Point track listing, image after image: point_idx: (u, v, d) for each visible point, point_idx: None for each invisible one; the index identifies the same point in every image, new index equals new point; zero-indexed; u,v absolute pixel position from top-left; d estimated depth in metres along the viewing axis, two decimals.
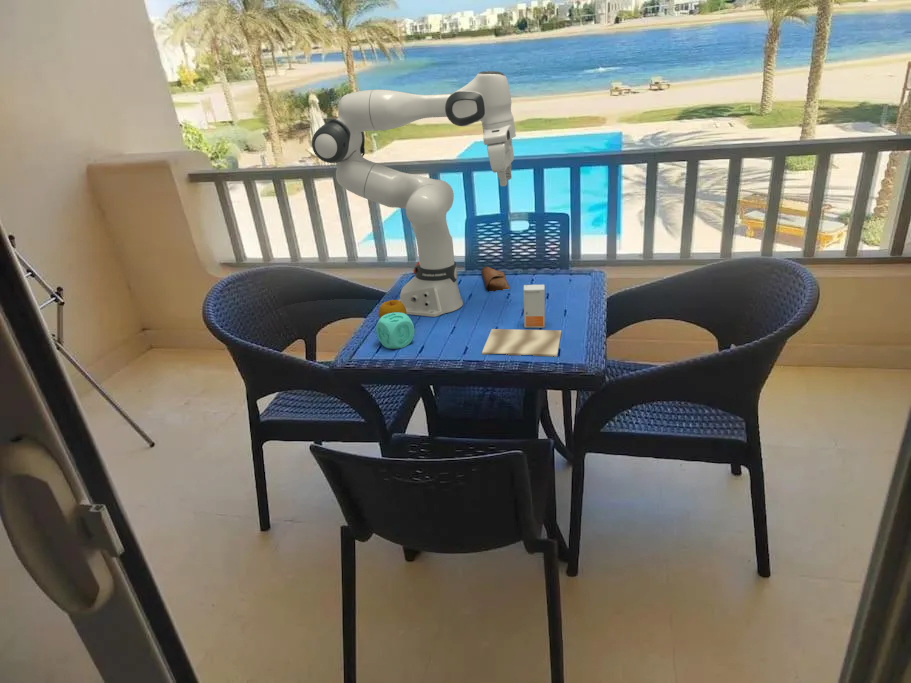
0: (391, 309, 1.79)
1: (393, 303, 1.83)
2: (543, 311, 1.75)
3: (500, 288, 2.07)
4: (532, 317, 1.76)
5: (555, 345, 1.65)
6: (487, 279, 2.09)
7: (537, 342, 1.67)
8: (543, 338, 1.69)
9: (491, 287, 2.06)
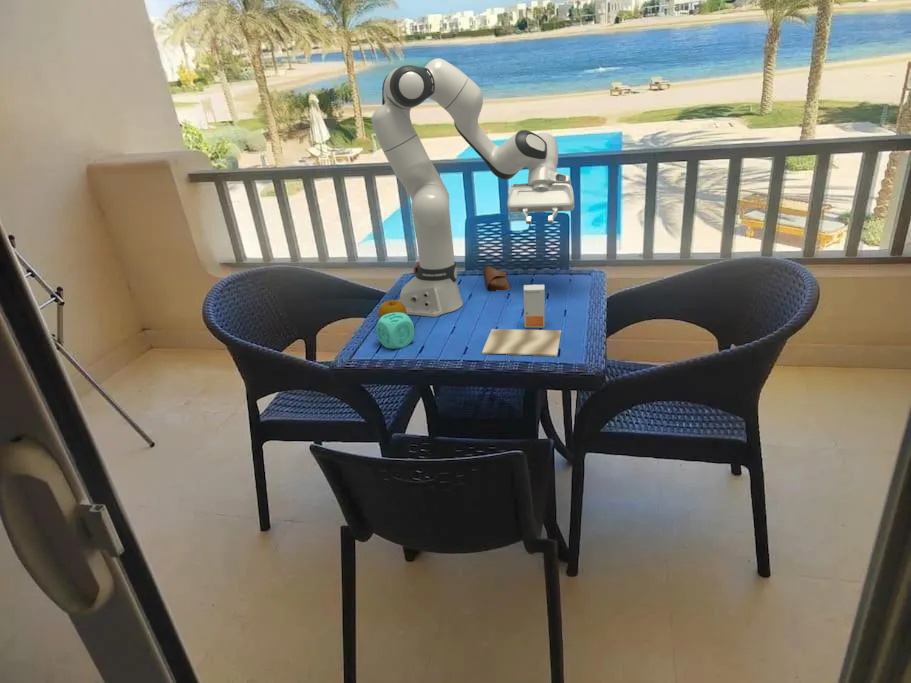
0: (391, 309, 1.79)
1: (393, 303, 1.83)
2: (543, 311, 1.75)
3: (501, 288, 2.07)
4: (532, 317, 1.76)
5: (555, 345, 1.65)
6: (488, 279, 2.09)
7: (537, 342, 1.67)
8: (543, 338, 1.69)
9: (492, 287, 2.06)
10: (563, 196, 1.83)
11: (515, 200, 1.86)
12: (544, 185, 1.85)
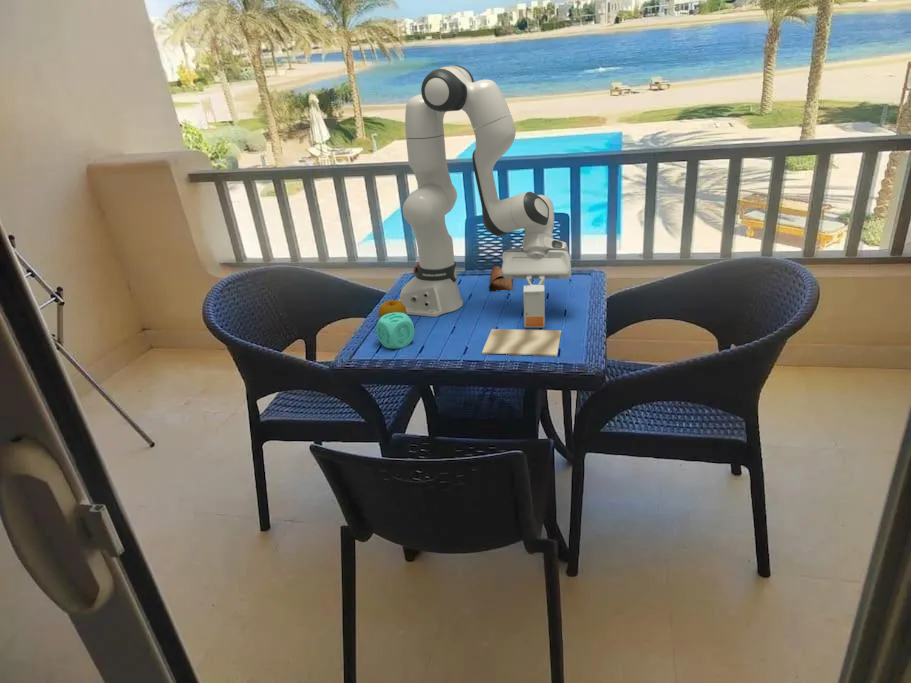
0: (391, 309, 1.79)
1: (393, 303, 1.83)
2: (543, 312, 1.74)
3: (503, 288, 2.06)
4: (532, 318, 1.75)
5: (555, 345, 1.65)
6: (492, 279, 2.09)
7: (537, 342, 1.67)
8: (543, 338, 1.69)
9: (494, 287, 2.06)
10: (560, 264, 1.75)
11: (509, 266, 1.79)
12: (540, 252, 1.77)
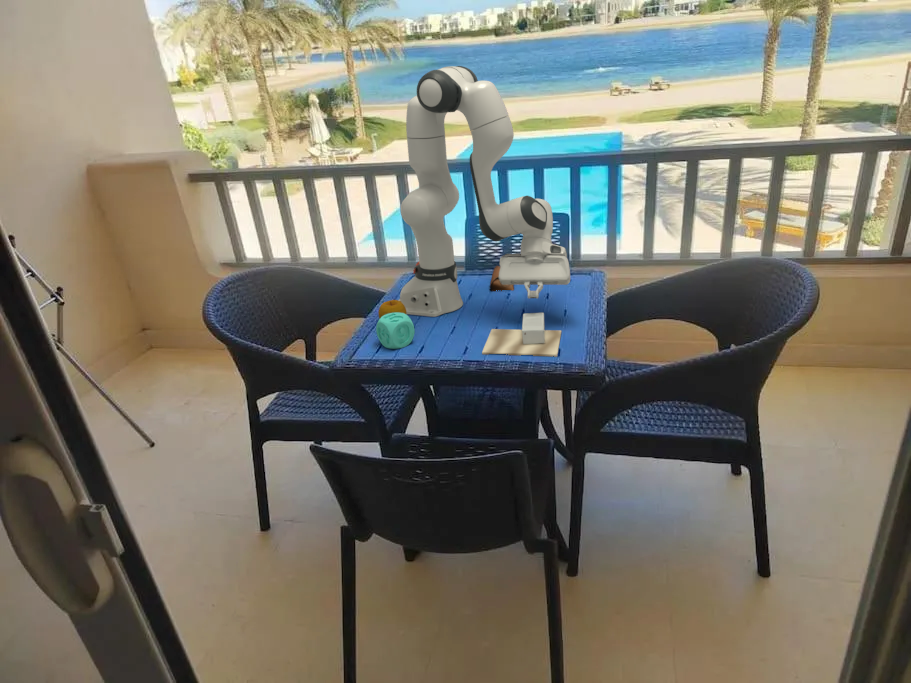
0: (391, 309, 1.79)
1: (393, 303, 1.83)
2: None
3: (503, 288, 2.06)
4: None
5: (555, 345, 1.65)
6: (492, 278, 2.09)
7: None
8: None
9: (495, 287, 2.06)
10: (559, 269, 1.71)
11: (506, 272, 1.74)
12: (538, 257, 1.73)
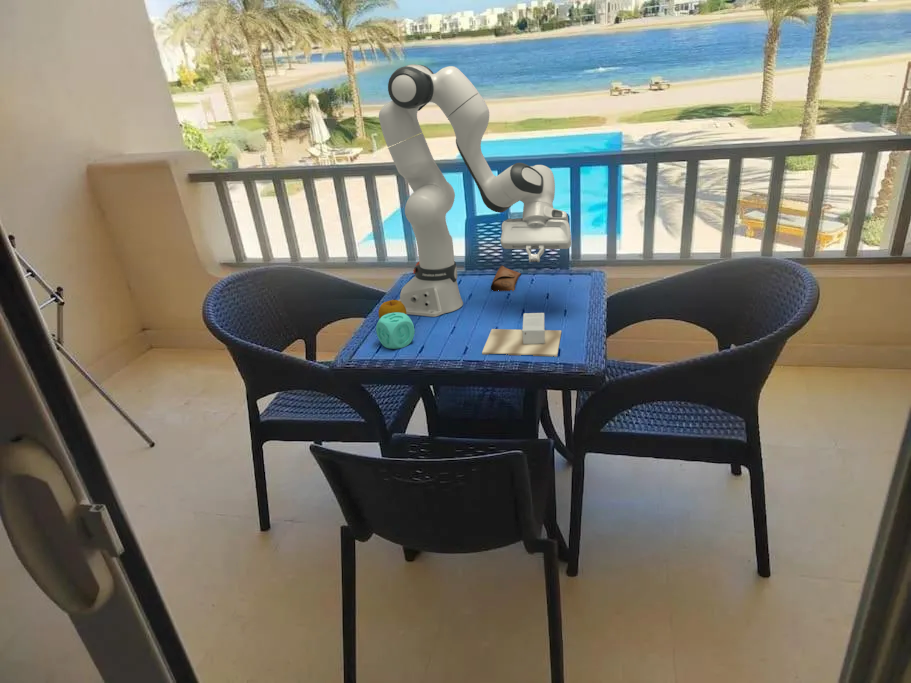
0: (391, 309, 1.79)
1: (393, 303, 1.83)
2: None
3: (504, 289, 2.06)
4: None
5: (555, 345, 1.65)
6: (494, 278, 2.09)
7: None
8: None
9: (495, 287, 2.06)
10: (560, 233, 1.74)
11: (508, 236, 1.77)
12: (539, 221, 1.75)
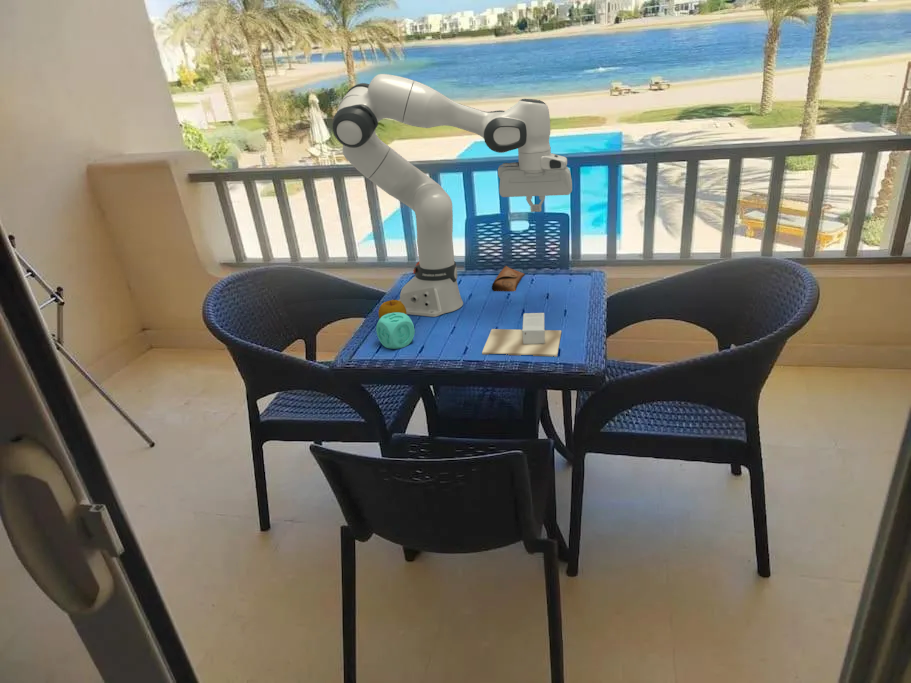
0: (391, 309, 1.79)
1: (393, 303, 1.83)
2: None
3: (505, 289, 2.06)
4: None
5: (555, 345, 1.65)
6: (496, 278, 2.09)
7: None
8: None
9: (496, 287, 2.06)
10: (560, 184, 1.68)
11: (507, 188, 1.72)
12: (537, 173, 1.67)
